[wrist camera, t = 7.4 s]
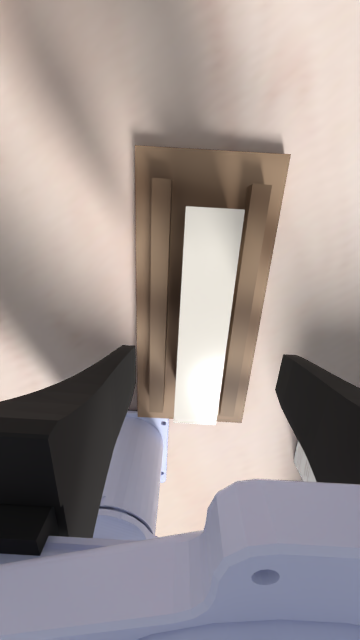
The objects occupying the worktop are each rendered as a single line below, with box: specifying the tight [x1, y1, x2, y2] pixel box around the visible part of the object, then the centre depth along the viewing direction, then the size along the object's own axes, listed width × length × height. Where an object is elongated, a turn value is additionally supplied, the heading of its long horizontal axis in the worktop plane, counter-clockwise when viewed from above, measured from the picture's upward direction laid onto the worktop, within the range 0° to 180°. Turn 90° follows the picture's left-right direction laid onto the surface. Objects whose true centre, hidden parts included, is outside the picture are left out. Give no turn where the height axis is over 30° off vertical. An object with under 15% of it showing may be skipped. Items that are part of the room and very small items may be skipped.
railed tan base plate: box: [135, 145, 291, 423], centre depth 20 cm, size 22×10×2 cm, turn 177°
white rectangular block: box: [174, 206, 245, 425], centre depth 17 cm, size 14×3×5 cm, turn 177°
